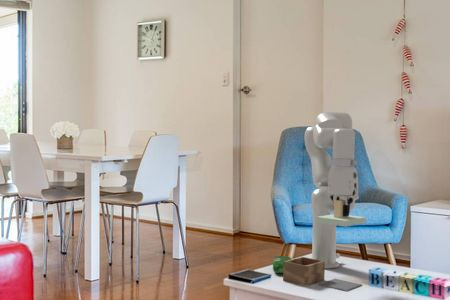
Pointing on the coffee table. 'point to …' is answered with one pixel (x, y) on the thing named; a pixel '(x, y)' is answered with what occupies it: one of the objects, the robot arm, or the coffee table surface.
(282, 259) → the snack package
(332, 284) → the mat
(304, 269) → the box
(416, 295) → the coffee table surface
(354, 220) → the lid
